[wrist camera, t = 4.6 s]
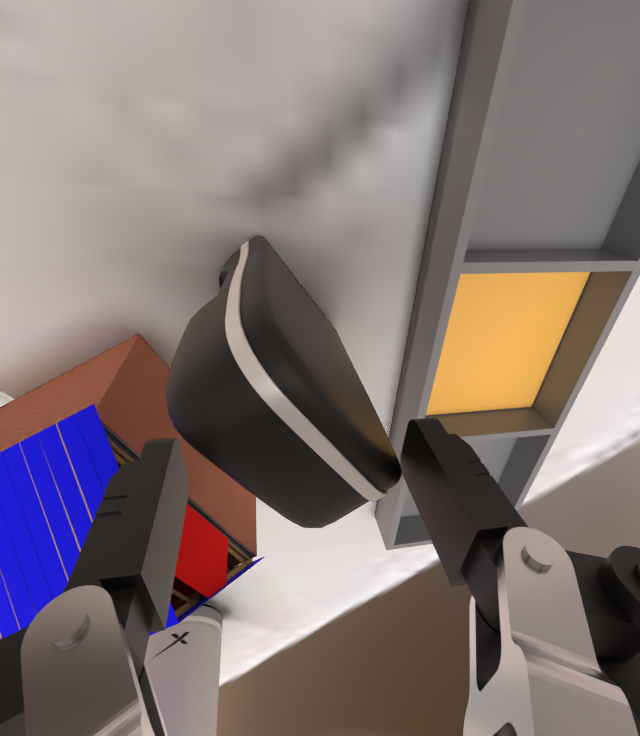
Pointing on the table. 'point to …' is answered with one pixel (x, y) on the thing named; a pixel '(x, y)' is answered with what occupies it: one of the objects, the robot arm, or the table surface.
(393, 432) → the tray
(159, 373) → the house
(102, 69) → the table surface
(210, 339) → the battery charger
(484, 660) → the robot arm
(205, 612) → the travel mug
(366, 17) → the table surface
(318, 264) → the table surface
